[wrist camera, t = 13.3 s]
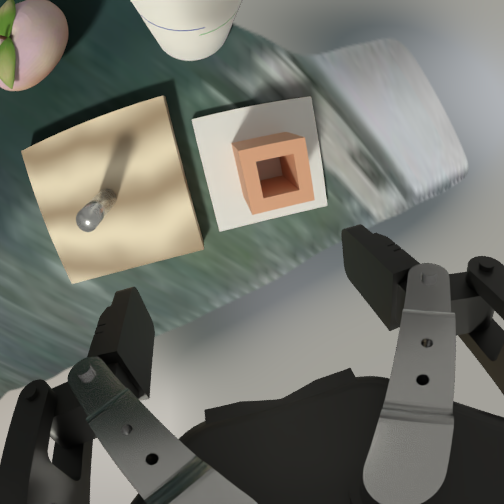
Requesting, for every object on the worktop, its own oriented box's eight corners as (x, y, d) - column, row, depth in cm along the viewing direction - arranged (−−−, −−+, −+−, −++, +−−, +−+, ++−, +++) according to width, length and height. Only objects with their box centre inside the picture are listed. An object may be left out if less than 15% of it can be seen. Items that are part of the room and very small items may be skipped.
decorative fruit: (92, 65, 25) (52, 51, 16) (29, 102, 25) (-24, 106, 16) (73, -4, 21) (33, -34, 12) (11, 34, 21) (-40, 22, 12)
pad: (191, 119, 29) (191, 119, 28) (308, 96, 30) (311, 96, 29) (219, 228, 35) (219, 231, 34) (324, 203, 35) (327, 205, 34)
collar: (231, 143, 30) (238, 150, 25) (286, 131, 30) (304, 137, 25) (243, 196, 33) (252, 215, 27) (295, 183, 33) (314, 200, 28)
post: (95, 191, 29) (72, 212, 23) (112, 185, 29) (93, 205, 23) (101, 210, 30) (80, 234, 24) (119, 204, 30) (101, 228, 24)
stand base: (29, 148, 27) (21, 151, 25) (165, 96, 28) (163, 95, 26) (77, 275, 34) (72, 283, 32) (203, 241, 35) (204, 249, 33)
